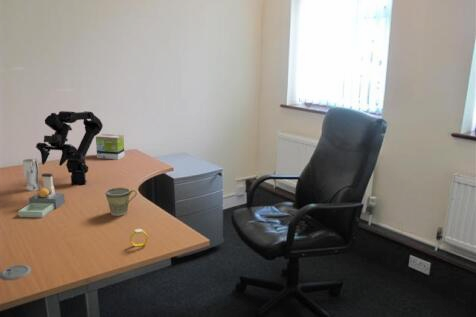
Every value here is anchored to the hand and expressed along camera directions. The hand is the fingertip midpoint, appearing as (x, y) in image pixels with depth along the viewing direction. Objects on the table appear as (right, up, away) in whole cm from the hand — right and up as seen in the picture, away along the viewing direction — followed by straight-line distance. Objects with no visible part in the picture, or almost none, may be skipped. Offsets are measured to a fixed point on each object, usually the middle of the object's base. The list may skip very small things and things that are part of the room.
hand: (51, 164), depth 198 cm
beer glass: (-15, -13, +14) cm, 24 cm away
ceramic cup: (+38, -20, -17) cm, 46 cm away
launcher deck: (+2, -18, -10) cm, 21 cm away
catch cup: (+2, -20, -17) cm, 27 cm away
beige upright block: (+2, -13, -8) cm, 16 cm away
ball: (+2, -12, -12) cm, 17 cm away
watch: (+52, -28, -47) cm, 76 cm away
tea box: (+4, +3, +79) cm, 79 cm away
